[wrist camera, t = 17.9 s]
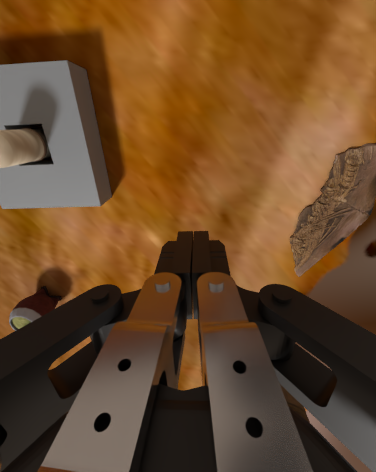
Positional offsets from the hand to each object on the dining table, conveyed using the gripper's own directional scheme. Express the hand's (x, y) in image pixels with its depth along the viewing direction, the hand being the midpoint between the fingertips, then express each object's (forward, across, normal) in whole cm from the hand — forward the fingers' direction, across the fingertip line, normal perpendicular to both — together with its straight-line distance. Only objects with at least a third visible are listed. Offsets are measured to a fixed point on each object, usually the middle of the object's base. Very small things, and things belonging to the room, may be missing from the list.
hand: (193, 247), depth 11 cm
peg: (+27, +23, -4) cm, 36 cm away
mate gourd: (+27, +34, +28) cm, 52 cm away
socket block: (+27, +23, -4) cm, 36 cm away
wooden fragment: (+28, -23, +10) cm, 37 cm away
